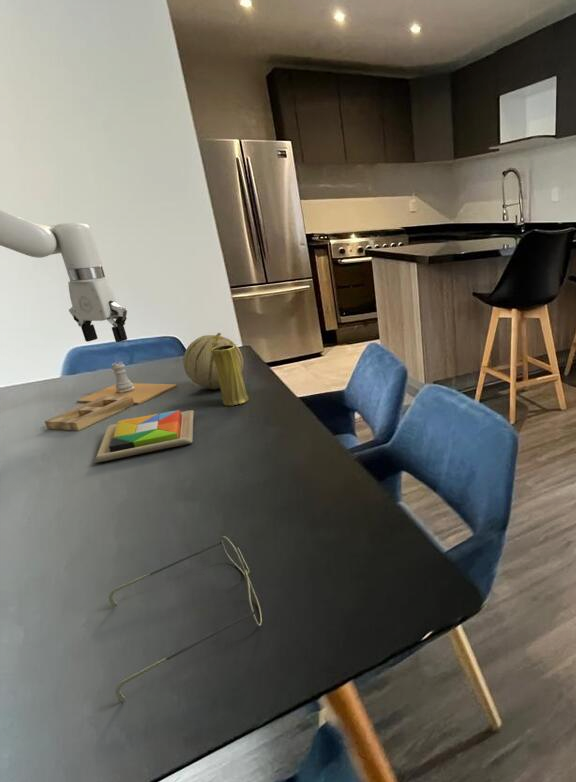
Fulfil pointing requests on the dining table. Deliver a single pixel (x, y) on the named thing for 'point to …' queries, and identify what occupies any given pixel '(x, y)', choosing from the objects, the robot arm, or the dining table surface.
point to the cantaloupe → (206, 360)
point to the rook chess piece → (122, 379)
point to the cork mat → (132, 392)
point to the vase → (229, 375)
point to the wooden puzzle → (146, 435)
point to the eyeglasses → (113, 603)
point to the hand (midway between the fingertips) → (106, 340)
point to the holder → (89, 413)
